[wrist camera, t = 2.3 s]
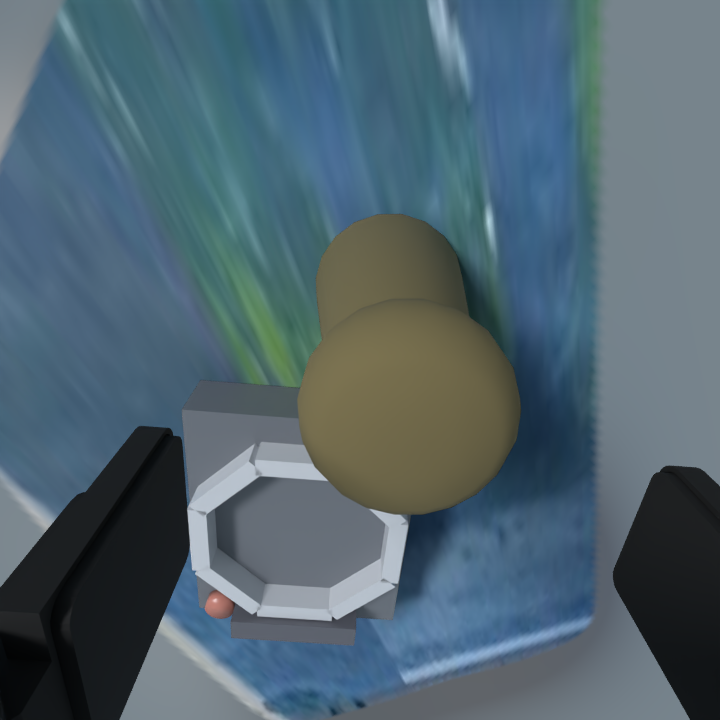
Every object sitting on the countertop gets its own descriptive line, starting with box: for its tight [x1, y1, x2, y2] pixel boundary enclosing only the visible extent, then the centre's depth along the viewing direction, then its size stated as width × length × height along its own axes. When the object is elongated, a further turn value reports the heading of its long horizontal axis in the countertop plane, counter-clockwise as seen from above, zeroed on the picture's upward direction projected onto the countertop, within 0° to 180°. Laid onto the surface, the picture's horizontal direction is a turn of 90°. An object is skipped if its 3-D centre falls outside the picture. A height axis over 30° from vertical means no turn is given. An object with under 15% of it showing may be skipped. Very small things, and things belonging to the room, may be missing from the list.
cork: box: [297, 214, 521, 515], centre depth 15 cm, size 6×6×11 cm
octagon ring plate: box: [182, 380, 411, 645], centre depth 23 cm, size 12×10×4 cm
